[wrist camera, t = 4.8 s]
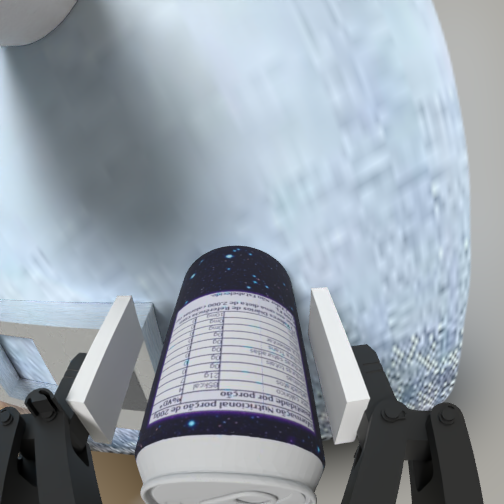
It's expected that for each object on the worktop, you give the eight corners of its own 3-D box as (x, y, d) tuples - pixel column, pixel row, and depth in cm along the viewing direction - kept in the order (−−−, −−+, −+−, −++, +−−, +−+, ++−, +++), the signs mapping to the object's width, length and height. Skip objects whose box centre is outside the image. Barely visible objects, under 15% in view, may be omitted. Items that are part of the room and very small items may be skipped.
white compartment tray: (-24, 373, 23) (-34, 389, 20) (-66, 294, 18) (-82, 308, 16) (182, 407, 22) (177, 434, 20) (152, 303, 18) (140, 331, 16)
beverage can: (164, 283, 17) (93, 490, 7) (238, 215, 16) (223, 451, 5) (236, 341, 19) (230, 536, 9) (311, 287, 18) (366, 500, 7)
